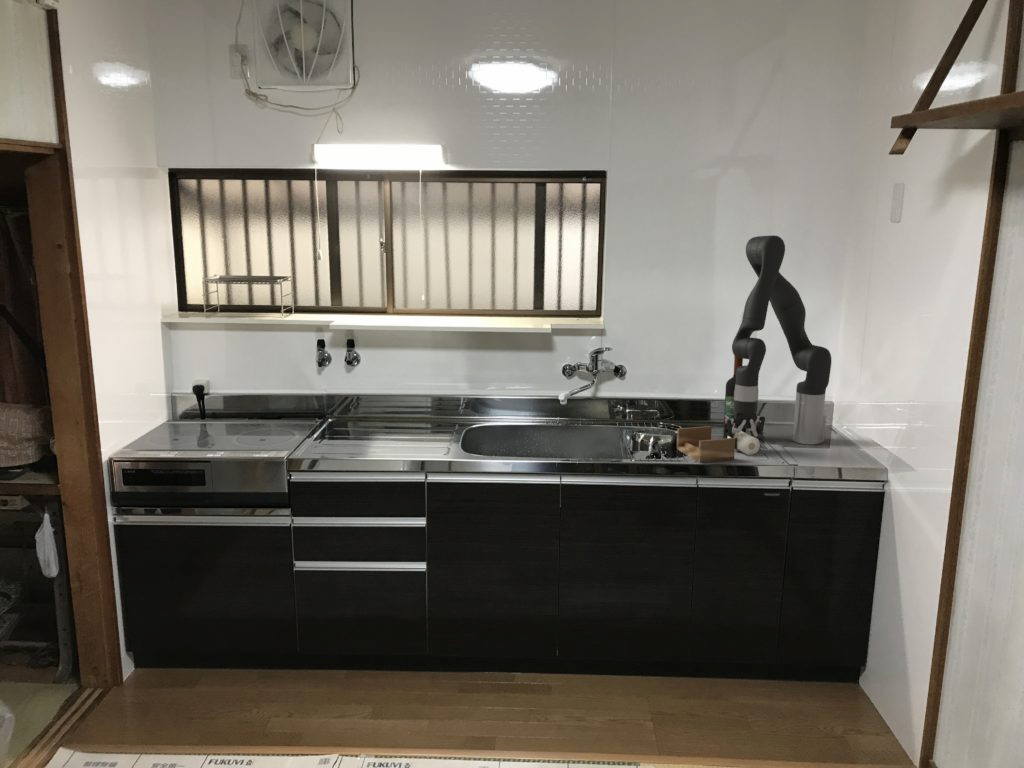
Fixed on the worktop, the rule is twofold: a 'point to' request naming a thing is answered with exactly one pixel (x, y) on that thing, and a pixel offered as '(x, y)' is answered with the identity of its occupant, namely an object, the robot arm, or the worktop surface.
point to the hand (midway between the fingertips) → (743, 447)
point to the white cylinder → (747, 443)
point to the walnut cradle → (704, 445)
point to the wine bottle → (731, 394)
